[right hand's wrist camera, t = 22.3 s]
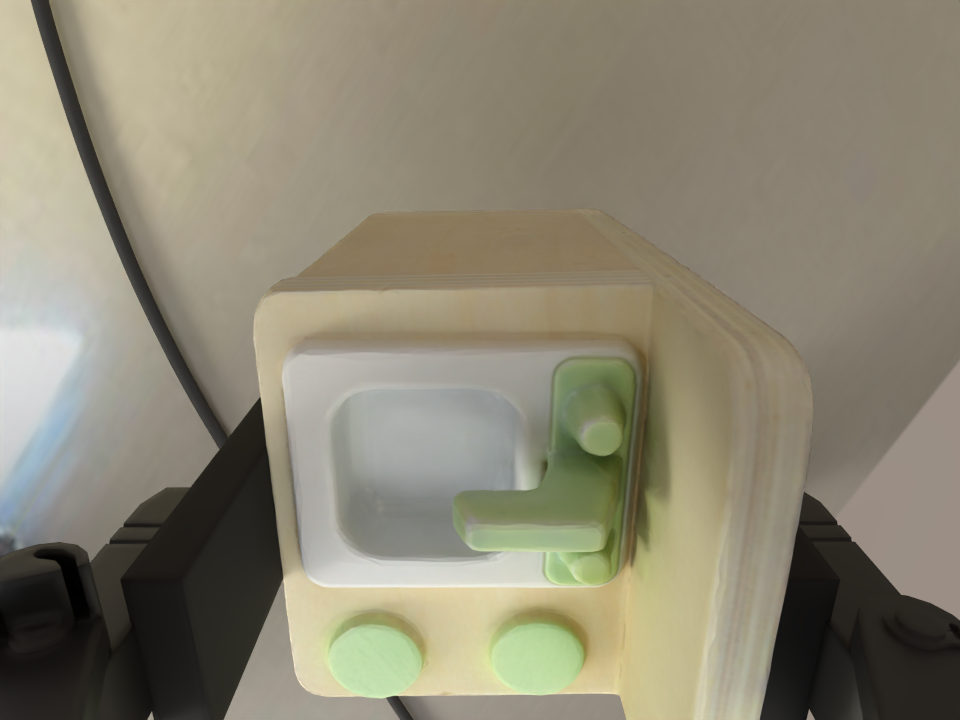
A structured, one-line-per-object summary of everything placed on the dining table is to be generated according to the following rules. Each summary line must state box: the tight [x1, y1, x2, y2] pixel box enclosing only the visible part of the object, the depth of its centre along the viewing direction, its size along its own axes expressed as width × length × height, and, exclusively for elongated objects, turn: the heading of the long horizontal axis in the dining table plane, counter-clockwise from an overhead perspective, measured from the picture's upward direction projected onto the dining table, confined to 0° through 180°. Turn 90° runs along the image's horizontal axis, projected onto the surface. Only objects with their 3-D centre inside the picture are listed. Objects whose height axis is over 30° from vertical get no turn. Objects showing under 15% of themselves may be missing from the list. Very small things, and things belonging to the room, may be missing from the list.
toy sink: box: [254, 209, 814, 720], centre depth 14 cm, size 9×7×13 cm
